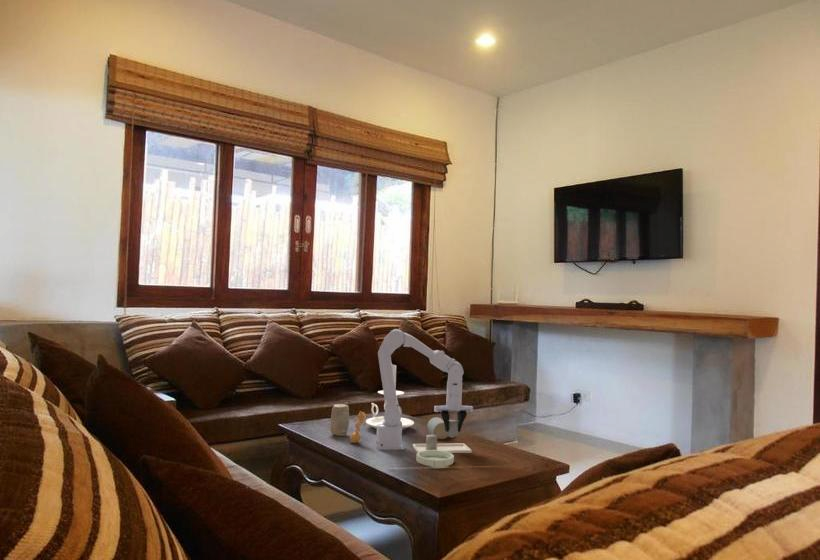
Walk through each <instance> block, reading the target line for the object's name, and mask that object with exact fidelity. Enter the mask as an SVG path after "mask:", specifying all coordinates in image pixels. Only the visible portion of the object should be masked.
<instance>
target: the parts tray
mask: <svg viewBox="0 0 820 560" xmlns="http://www.w3.org/2000/svg"><path fill="white" fill-rule="evenodd" d="M412 447H413V449H414V450H415V451H416V454H417V453H418V452H419V451H424V450H426V443H413V444H412ZM437 450H441V451H446V452H449V453H452V454H472V451H473V450H472V449H471V448H470V447H469V446H468V445H467V444H466V443H460V442H459V443H457V442H454V443H452V442H451V443H446V442H445V443H437Z"/></svg>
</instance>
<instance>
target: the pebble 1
mask: <svg viewBox="0 0 820 560" xmlns="http://www.w3.org/2000/svg"><path fill="white" fill-rule="evenodd" d="M425 437H426V441H425V444H426V450H437V444H438V439H437V435H431V434H426V436H425Z"/></svg>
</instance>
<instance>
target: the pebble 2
mask: <svg viewBox="0 0 820 560" xmlns="http://www.w3.org/2000/svg"><path fill="white" fill-rule="evenodd" d="M458 422H459V421H458V420H457V419H449V431H448V432H447V435H450V436H455V437H457V436H458V435H459V432H458Z"/></svg>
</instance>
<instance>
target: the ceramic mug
mask: <svg viewBox="0 0 820 560" xmlns="http://www.w3.org/2000/svg"><path fill="white" fill-rule="evenodd" d="M426 426H427V427H426V429H427V430H426V431H427V432H428V433H429V435H437V440H446V439H447V438H451V439H452V438H453V439H454V438H455V437H456V436H450V435H447V432H446V431H445V425H444V421H443V418H442V417H439V416H436V417H432V418H431V419H429V421H428V422H427V425H426Z"/></svg>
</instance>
